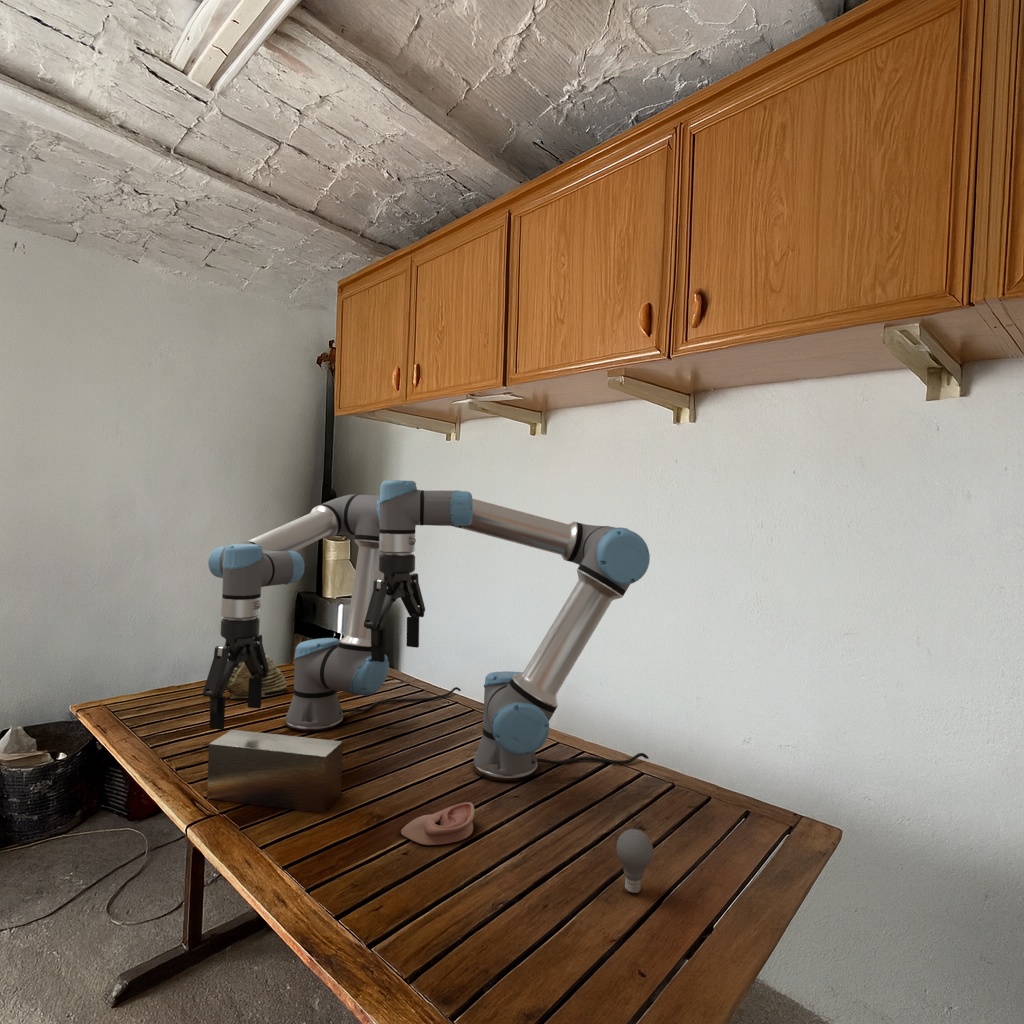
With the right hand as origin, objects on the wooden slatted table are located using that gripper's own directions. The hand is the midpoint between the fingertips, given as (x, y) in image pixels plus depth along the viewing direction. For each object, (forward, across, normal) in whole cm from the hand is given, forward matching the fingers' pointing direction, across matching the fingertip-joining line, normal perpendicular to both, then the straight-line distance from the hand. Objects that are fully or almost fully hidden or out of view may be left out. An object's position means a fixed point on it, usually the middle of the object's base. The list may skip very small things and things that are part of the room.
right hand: (396, 653), depth 134 cm
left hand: (+14, -13, +31) cm, 36 cm away
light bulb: (+32, -10, -53) cm, 63 cm away
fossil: (+30, +38, +75) cm, 89 cm away
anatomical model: (+31, -8, -15) cm, 35 cm away
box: (+30, -11, +22) cm, 39 cm away
